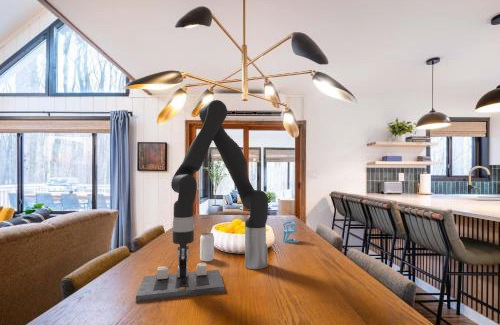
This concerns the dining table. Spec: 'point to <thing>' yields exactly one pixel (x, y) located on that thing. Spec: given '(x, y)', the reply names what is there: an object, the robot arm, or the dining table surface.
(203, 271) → the breaker
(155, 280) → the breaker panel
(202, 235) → the can
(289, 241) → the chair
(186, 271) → the breaker
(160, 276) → the breaker
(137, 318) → the dining table surface
